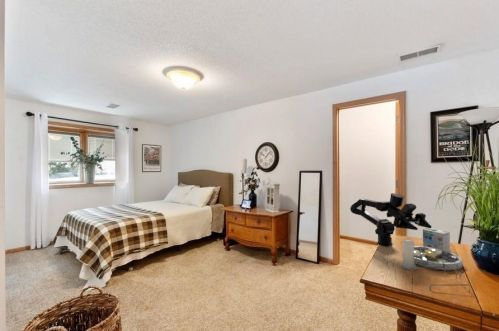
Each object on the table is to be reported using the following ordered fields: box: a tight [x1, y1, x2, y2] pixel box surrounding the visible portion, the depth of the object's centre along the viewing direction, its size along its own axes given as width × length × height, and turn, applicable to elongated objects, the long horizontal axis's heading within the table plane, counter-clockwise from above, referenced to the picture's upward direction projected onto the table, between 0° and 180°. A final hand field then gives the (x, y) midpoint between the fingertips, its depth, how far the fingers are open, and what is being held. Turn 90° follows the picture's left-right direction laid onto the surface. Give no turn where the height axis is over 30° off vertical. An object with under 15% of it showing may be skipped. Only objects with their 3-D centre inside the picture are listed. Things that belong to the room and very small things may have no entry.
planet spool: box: [401, 238, 417, 271], centre depth 112 cm, size 6×6×13 cm
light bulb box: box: [422, 227, 451, 252], centre depth 134 cm, size 11×7×11 cm, turn 25°
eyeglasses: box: [410, 265, 471, 292], centre depth 99 cm, size 16×15×5 cm
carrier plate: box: [414, 245, 464, 272], centre depth 119 cm, size 24×24×4 cm
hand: (424, 228), depth 120 cm, fingers open, 9 cm apart
